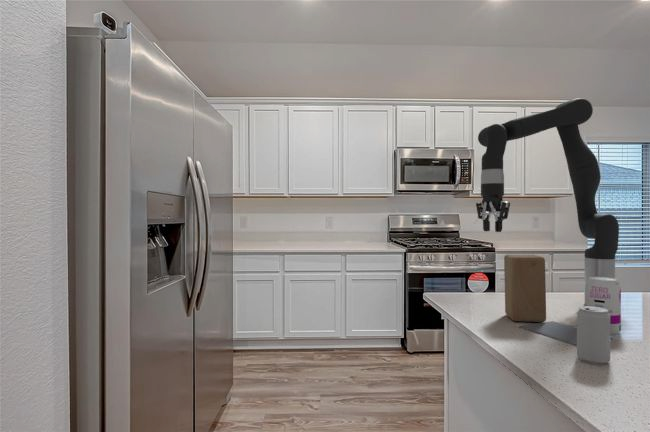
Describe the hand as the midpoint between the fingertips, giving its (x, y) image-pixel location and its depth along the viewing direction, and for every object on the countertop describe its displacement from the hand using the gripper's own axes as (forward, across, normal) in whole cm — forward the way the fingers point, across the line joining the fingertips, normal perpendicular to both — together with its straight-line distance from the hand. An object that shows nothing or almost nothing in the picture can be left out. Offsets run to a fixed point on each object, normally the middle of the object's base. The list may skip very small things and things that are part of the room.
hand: (492, 231), depth 142 cm
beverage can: (+28, -47, +15) cm, 56 cm away
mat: (+27, -29, +2) cm, 40 cm away
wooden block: (+27, -14, 0) cm, 31 cm away
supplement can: (+28, -32, -10) cm, 43 cm away
